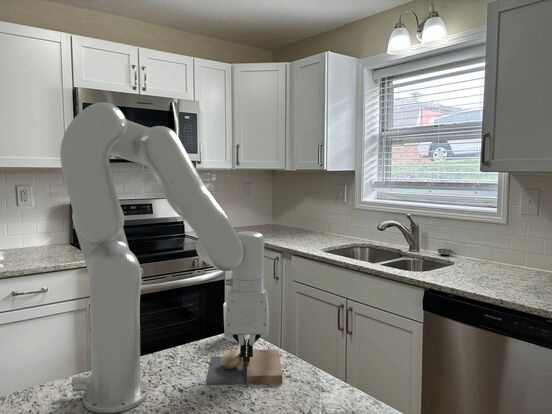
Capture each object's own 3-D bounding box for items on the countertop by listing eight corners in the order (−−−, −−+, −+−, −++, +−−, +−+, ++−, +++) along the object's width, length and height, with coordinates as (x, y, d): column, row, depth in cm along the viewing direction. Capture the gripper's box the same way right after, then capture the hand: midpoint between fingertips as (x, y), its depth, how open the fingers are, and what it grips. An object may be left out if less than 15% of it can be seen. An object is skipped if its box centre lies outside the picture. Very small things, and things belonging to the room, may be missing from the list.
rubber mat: (206, 384, 96) (206, 383, 96) (211, 357, 110) (211, 356, 110) (246, 384, 96) (246, 383, 96) (247, 357, 110) (247, 356, 110)
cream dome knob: (221, 371, 102) (218, 364, 102) (225, 361, 107) (222, 353, 106) (240, 365, 101) (237, 358, 101) (244, 355, 106) (241, 348, 106)
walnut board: (246, 384, 96) (246, 375, 96) (247, 357, 110) (247, 349, 110) (282, 383, 97) (282, 375, 96) (278, 357, 111) (278, 349, 110)
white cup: (217, 338, 122) (217, 304, 121) (236, 331, 128) (236, 298, 128) (238, 346, 117) (238, 310, 117) (256, 337, 124) (256, 303, 123)
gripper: (214, 288, 97) (213, 366, 99) (280, 288, 98) (278, 366, 100) (216, 280, 105) (216, 353, 106) (278, 280, 106) (276, 353, 107)
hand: (246, 359), depth 103 cm, fingers closed
